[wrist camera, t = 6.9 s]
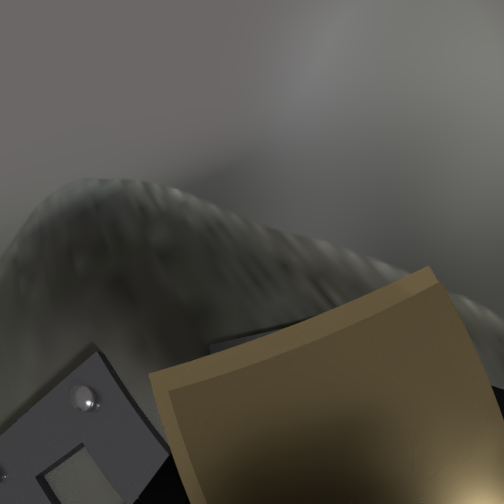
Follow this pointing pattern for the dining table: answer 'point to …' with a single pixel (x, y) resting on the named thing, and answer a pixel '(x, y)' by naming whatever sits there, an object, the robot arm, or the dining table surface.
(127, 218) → the dining table surface
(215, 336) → the dining table surface
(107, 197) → the dining table surface
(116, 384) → the square hole plate
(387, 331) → the stepped brass square peg
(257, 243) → the dining table surface
